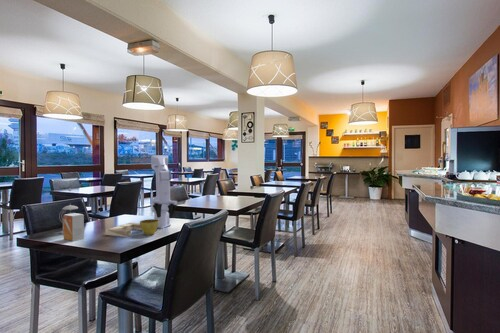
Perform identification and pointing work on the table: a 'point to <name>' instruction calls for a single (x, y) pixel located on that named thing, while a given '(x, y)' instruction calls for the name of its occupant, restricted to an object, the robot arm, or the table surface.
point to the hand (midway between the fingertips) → (164, 217)
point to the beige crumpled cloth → (123, 229)
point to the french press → (67, 209)
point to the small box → (73, 226)
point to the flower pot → (149, 226)
